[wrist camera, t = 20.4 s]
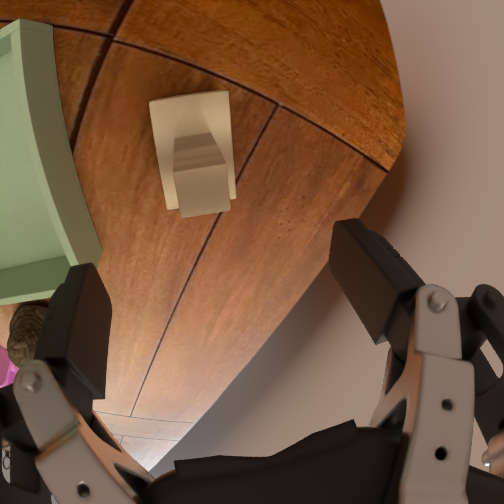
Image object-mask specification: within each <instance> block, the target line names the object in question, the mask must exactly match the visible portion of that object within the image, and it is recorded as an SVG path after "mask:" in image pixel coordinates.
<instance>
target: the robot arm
mask: <svg viewBox="0 0 504 504" xmlns="http://www.w3.org/2000/svg"><path fill="white" fill-rule="evenodd" d="M329 266H330V270H331V272H332V274H333V276H334V278H335V279H336V281H337V282H338V284H339V286H340V287H341V289H342V290H343V292H344V294H345V295H346V297H347V298H348V300H349V301H350V303H351V305H352V306H353V308H354V309H355V311H356V313H357V314H358V316H359V318H360V319H361V321H362V323H363V324H364V326H365V328H366V329H367V331H368V333H369V334H370V336H371V338H372V340H373V341H374V343H375V345H377V344H380V343H383V342H385V341H389V343H390V345H391V347H390V348H389V351H388V356H387V362H386V369H385V374H384V379H383V384H382V389H381V394H380V398H379V402H378V404H377V406H376V409H375V410H374V413H373V415H372V418H371V421H370V424H369V427H357V426H356V424H355V422H354V419H353V420H350V421H347V422H344V423H342V424H339V425H336V426H333V427H330V428H327V429H325V430H321V431H318V432H315V433H312V434H311V435H309V436H307V437H306V438H304V439H302V440H300V441H299V442H297V443H295V444H293V445H291V446H290V447H288V448H286V449H284V450H282V451H280V452H278V453H276V454H275V455H272V456H269V457H242V456H222V455H217V456H211V457H204V458H196V459H187V460H176V461H174V464H175V469H174V470H171V471H169V472H167V473H165V474H163V475H161V476H159V477H158V478H156V479H155V478H153V476H152V475H151V474H150V473H149V472H148V471H147V470H146V469H145V468H143V467H142V466H141V465H140V464H139V463H138V462H137V461H135V460H134V459H133V458H132V457H131V456H130V455H129V454H128V453H127V452H126V451H125V450H124V448H123V447H122V446H121V445H120V444H119V442H118V441H117V440H116V439H115V437H114V436H113V435H112V434H111V432H110V431H109V430H108V429H107V427H106V426H105V425H104V423H103V422H102V421H101V419H100V418H99V417H98V415H97V414H96V412H95V411H94V410H93V409H92V405H93V400H95V399H105V387H106V370H107V357H108V345H109V336H110V327H111V319H112V305H111V300H110V297H109V295H108V293H107V291H106V289H105V287H104V284H103V282H102V280H101V278H100V276H99V274H98V271H97V269H96V267H95V265H94V264H93V263H92V262H90V263H85V264H79V265H74V266H71V267H70V268H69V271H68V273H67V276H66V279H65V282H64V283H62V284H60V285H59V286H58V288H57V289H56V290H55V292H54V293H53V295H52V296H51V299H50V302H49V305H48V311H46V315H45V318H44V319H45V321H43V325H42V328H41V331H40V335H39V339H38V343H37V346H36V350H35V354H34V359H33V360H31V361H28V362H26V363H25V364H24V365H22V366H21V367H20V369H19V370H18V371H17V373H16V375H15V378H14V381H13V383H12V384H9V385H7V386H4V387H1V388H0V504H52V502H51V493H52V495H53V496H54V498H55V500H56V501H57V503H58V504H504V297H503V295H502V294H501V293H500V292H499V291H498V290H497V289H495V288H494V287H492V286H490V285H486V284H481V285H478V286H477V287H476V288H475V290H474V292H473V294H472V296H471V297H459V298H458V297H456V298H455V297H454V296H453V295H452V294H451V293H450V292H449V291H448V290H447V289H445V288H443V287H441V286H438V285H434V284H427V285H426V284H425V283H424V282H423V280H422V279H421V278H420V277H419V276H418V275H417V273H416V272H415V271H414V270H413V269H412V268H411V266H410V265H409V264H408V263H407V262H406V261H405V260H404V259H403V257H400V254H399V253H398V252H397V251H396V250H395V249H393V246H392V245H391V244H390V243H389V242H388V241H387V240H386V239H385V238H384V237H382V236H381V235H379V234H377V233H375V232H374V231H372V230H368V228H367V227H366V226H365V225H364V224H362V222H361V221H360V220H359V219H357V218H353V219H347V220H340V221H336V222H335V223H334V226H333V233H332V240H331V247H330V253H329ZM487 339H488V341H489V342H490V344H491V345H492V347H493V349H494V350H495V351H496V353H497V355H498V357H499V358H500V360H501V362H502V364H503V374H502V376H501V377H500V378H498V377H497V376H496V374H495V372H494V371H493V369H492V367H491V366H490V364H489V362H488V361H487V359H486V357H485V356H484V354H483V352H482V351H481V349H480V347H481V346H482V345H483V343H484V342H485V341H486V340H487ZM474 417H475V419H476V421H477V423H478V425H479V428H480V430H481V432H482V434H483V436H484V439H485V441H486V443H487V446H488V449H487V450H486V451H485V452H484V453H483V455H482V463H483V464H484V465H486V466H488V465H489V473H488V472H486V471H483V470H480V469H478V468H475V467H472V466H470V465H469V461H470V454H471V445H472V434H473V422H474ZM2 440H4V441H6V442H8V443H9V444H10V484H9V483H8V482H7V481H6V480H5V478H4V476H3V473H2ZM50 492H51V493H50Z"/></svg>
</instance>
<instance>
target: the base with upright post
mask: <svg viewBox="0 0 504 504" xmlns="http://www.w3.org/2000/svg"><path fill="white" fill-rule="evenodd" d="M149 108H150V115H151V122H152V129H153V135H154V141H155V147H156V153H157V159H158V165H159V170H160V175H161V181H162V186H163V191H164V196H165V201H166V206H167V210H170V209H176V208H179V210H180V215H181V218H187V217H193V216H199V215H205V214H211V213H217V212H223V211H229V210H231V207H230V199H236V187H235V174H234V161H233V147H232V134H231V120H230V105H229V91H228V90H216V91H207V92H199V93H192V94H185V95H178V96H172V97H166V98H161V99H155V100H151V101H150V102H149Z"/></svg>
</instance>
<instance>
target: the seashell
mask: <svg viewBox="0 0 504 504" xmlns="http://www.w3.org/2000/svg"><path fill="white" fill-rule="evenodd" d="M46 311H48V308H45V307H43V306H38V305H29V306H27V305H22V306H20V307H19V308H18V309H17V310H16V311H15V313H14V315H13V317H12V319H11V322H10V335H9V339H8V342H7V352H8V357H9V359H10V360H11V361H12V363H13V364H14V365H15V366H16V367H18V368H20V367H21V366H22V365H24V364H25V363H26V362H28V361H31V360H33V359H34V354H35V350H36V346H37V343H38V339H39V335H40V331H41V328H42V325H43V321H45V319H44V318H45V315H46Z"/></svg>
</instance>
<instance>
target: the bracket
mask: <svg viewBox="0 0 504 504" xmlns="http://www.w3.org/2000/svg"><path fill="white" fill-rule="evenodd" d="M17 371H18V367H16V366H15V365H14V364H13V363H12V361H11V360H10V359H9V357H8V352H7V349H4V348H1V347H0V388H1V387H4V386H7V385H9V384H12V383H13V381H14V378H15V375H16V373H17Z"/></svg>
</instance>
